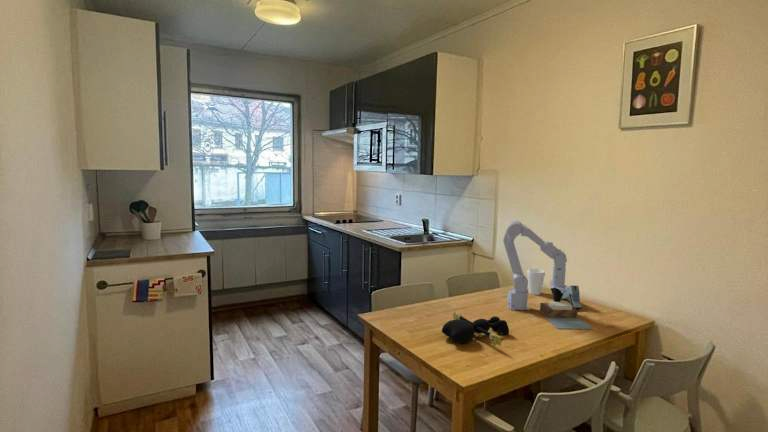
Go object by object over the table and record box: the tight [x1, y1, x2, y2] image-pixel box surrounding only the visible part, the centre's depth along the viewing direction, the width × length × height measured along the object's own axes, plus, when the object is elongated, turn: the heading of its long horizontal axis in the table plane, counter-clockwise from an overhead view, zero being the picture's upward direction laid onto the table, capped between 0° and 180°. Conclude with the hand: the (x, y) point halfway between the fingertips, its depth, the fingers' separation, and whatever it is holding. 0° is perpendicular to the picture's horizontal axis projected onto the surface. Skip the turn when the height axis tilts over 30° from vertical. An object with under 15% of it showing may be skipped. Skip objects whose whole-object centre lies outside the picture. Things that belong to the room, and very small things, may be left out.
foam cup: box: [526, 268, 546, 296], centre depth 243 cm, size 10×9×13 cm
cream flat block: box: [548, 301, 572, 310], centre depth 208 cm, size 9×6×2 cm, turn 91°
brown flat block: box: [539, 302, 579, 318], centre depth 210 cm, size 14×10×4 cm
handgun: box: [561, 284, 583, 310], centre depth 226 cm, size 4×18×12 cm, turn 179°
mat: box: [545, 317, 594, 330], centre depth 198 cm, size 16×13×1 cm
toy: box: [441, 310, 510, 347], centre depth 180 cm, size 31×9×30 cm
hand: (556, 303), depth 212 cm, fingers closed
